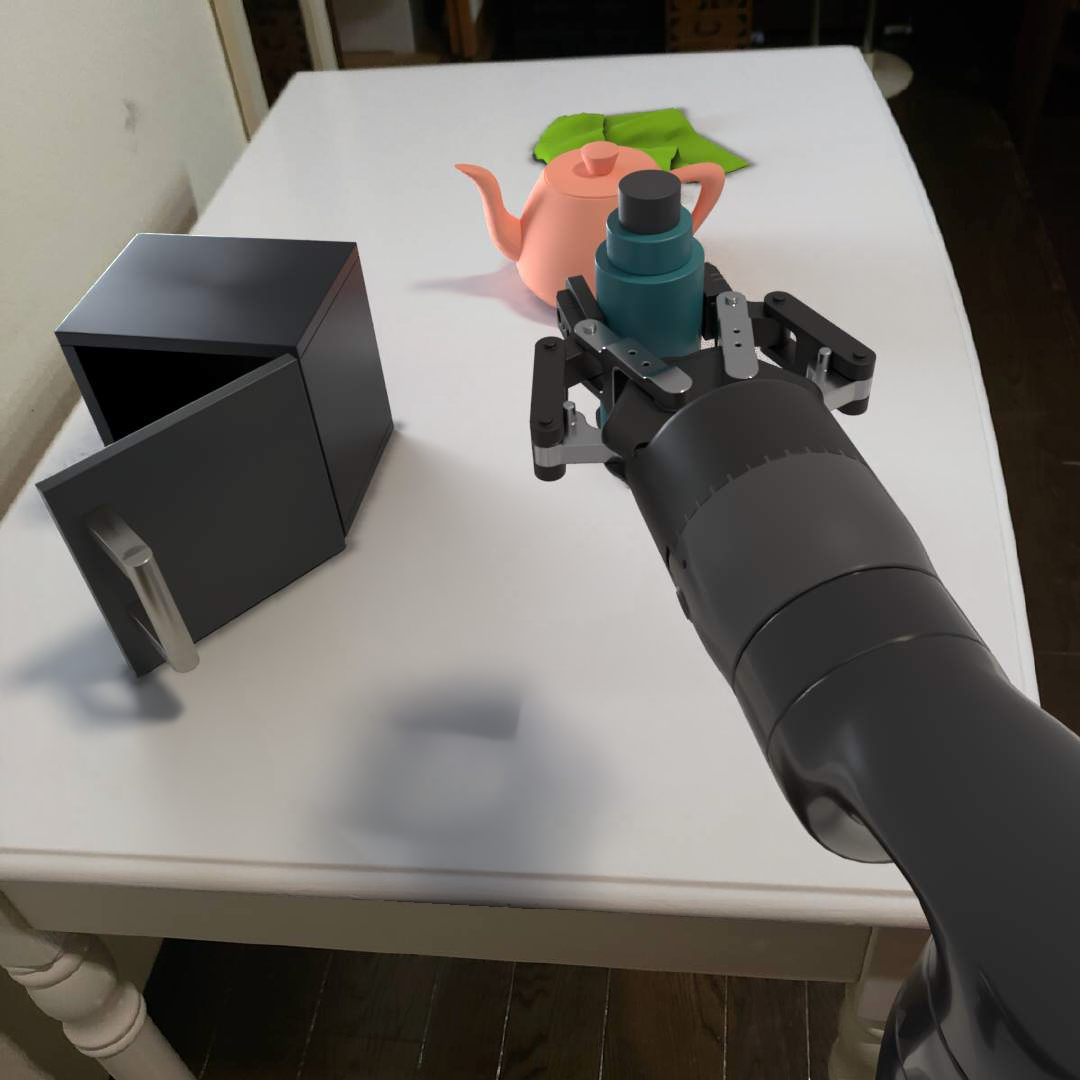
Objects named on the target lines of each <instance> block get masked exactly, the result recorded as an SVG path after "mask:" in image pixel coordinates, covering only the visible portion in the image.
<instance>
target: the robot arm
mask: <svg viewBox="0 0 1080 1080" xmlns="http://www.w3.org/2000/svg"><path fill="white" fill-rule="evenodd" d="M565 286H566V289H565V290H560V291H557V296H556V306H557V308H556V319H557V327H558V329H559V332H560V334H561V335H562V338H561V337H559V336H554V335H553V336H551V335H549V336H544V337H541V338H539V339H538V340H537V341H536V342H535V344H534V352H533V353H534V355H533V367H532V381H531V382H532V383H531V397H530V409H529V431H530V443H531V455H532V463H533V473H534V476H535V477H536V478H537V479H538V480H540V481H542V482H548V483H552V482H556V481H558V480H561V479H562V478H563V477H564V476H565V475H566V473H567V465H578V464H579V465H580V464H581V465H582V464H583V465H584V464H587V465H588V464H603V465H604V467H605V468H606V470H607V471H608V472H609V473H610V474H611V475H612V476H614V477H616V478H617V479H618V480H620V481H622V482H623V483H624V484H626V486H627V487H628V488H629V489H630V491H631V493H632V496H633V498H634V501H635V503H636V506H637V508H638V510H639V512H640V514H641V516H642V518H643V521H644V523H645V525H646V527H647V529H648V531H649V534H650V535H651V538H652V540H653V542H654V544H655V546H656V548H657V550H658V552H659V555H660V558H661V559H662V561H663V563H664V566H665V568H666V570H667V572H668V574H669V576H670V578H671V581H672V583H673V585H674V588H675V589H676V591H675V594H676V597H677V600H678V603H679V605H680V608H681V610H682V613H683V614H684V617H685V618H686V620H687V621H689V622H690V623H691V624H692V625H693V628H694V630H695V632H696V634H697V636H698V638H699V639H700V641H701V644H702V645H703V648H704V650H705V651H706V653H707V655H708V656H709V658H710V659H711V661H712V663H713V664H714V666H715V667H716V668H717V669H718V672H719V673H720V674H721V675H722V677H723V678H724V679H725V681H726V682H727V684H728V685H729V687H730V689H731V690H732V692H733V694H734V696H735V698H736V699H737V702H738V704H739V707H740V709H741V711H742V713H743V715H744V717H745V719H746V721H747V724H748V726H749V728H750V730H751V732H752V734H753V736H754V738H755V740H756V742H757V744H758V747H759V749H760V751H761V753H762V755H763V758H764V759H765V761H766V764H767V766H768V768H769V769H770V772H771V774H772V776H773V778H774V780H775V782H776V784H777V786H778V788H779V790H780V792H781V793H782V795H783V797H784V799H785V800H786V802H787V804H788V806H789V807H790V808H791V810H792V812H793V813H794V815H795V817H796V818H797V821H798V822H799V823H800V825H801V826H802V827H803V829H804V830H805V831H806V833H807V834H808V836H810V837H811V838H812V839H813V840H814V841H815V842H817V843H818V844H819V846H820V847H822V848H823V849H824V850H826V851H828V852H830V853H831V854H833V855H835V856H838V857H840V858H842V859H845V860H848V861H852V862H856V863H860V864H871V865H888V864H894V866H896V869H898V871H899V872H900V873H901V875H902V876H903V878H904V879H905V880H906V882H907V884H908V885H909V887H910V888H911V890H912V891H913V894H914V895H915V897H916V898H917V900H918V903H919V905H920V907H921V910H922V912H923V915H924V917H925V919H926V922H927V925H928V927H929V930H930V933H931V934H930V936H929V938H928V939H927V941H926V943H925V944H924V947H923V948H922V950H921V952H920V953H919V955H918V957H917V959H916V960H915V962H914V964H913V966H912V967H911V968H910V970H909V971H908V974H907V975H906V977H905V979H904V981H903V982H902V984H901V985H900V988H899V989H898V991H897V993H896V995H895V998H894V1000H893V1002H892V1004H891V1006H890V1009H889V1013H888V1016H887V1018H886V1022H885V1026H884V1030H883V1033H882V1036H881V1042H880V1046H879V1050H878V1051H879V1052H878V1058H877V1063H876V1070H875V1077H874V1080H1080V736H1079V735H1078V734H1076V733H1075V732H1074V731H1073V730H1071V729H1070V728H1069V727H1067V726H1066V725H1065V724H1063V723H1062V722H1061V721H1060V720H1058V719H1057V718H1056V717H1055V716H1053V715H1051V714H1050V713H1049V712H1047V711H1046V710H1044V709H1043V708H1042V707H1041V706H1040V705H1038V704H1037V703H1036V702H1034V701H1033V700H1032V699H1030V698H1029V697H1028V696H1027V695H1025V694H1024V693H1023V692H1022V691H1021V690H1020V689H1018V688H1017V686H1015V685H1014V684H1013V683H1012V682H1011V680H1010V679H1009V676H1008V675H1007V673H1006V672H1005V670H1004V669H1003V668H1002V666H1001V664H1000V662H999V661H998V659H997V657H996V656H995V655H994V654H993V652H992V651H991V649H990V647H989V646H988V645H987V644H986V641H984V639H983V637H982V636H981V635H980V634H979V632H978V631H977V629H976V628H975V627H974V626H973V624H972V622H971V621H970V619H969V618H968V617H967V615H966V614H965V612H964V611H963V609H962V608H961V607H960V605H959V604H958V603H957V601H956V599H955V598H954V596H953V595H952V594H951V592H950V591H949V590H948V589H947V587H946V586H945V585H944V583H943V582H942V580H941V579H940V577H939V574H938V573H937V571H936V569H935V567H934V565H933V562H932V561H931V558H930V556H929V554H928V551H927V550H926V547H925V546H924V544H923V542H922V540H921V538H920V537H919V534H918V533H917V531H916V530H915V529H914V527H913V526H912V524H911V522H910V521H909V519H908V518H907V516H906V515H905V514H904V512H903V511H902V510H901V508H900V507H899V505H898V503H897V502H896V501H895V500H894V498H893V497H892V496H891V494H890V493H889V491H888V489H886V487H885V486H884V484H883V483H882V481H881V480H880V479H879V477H878V476H877V475H876V473H875V471H874V470H873V469H872V467H871V466H870V465H869V463H868V462H867V461H866V460H865V458H864V456H863V455H862V454H861V452H860V451H859V450H858V448H857V446H856V445H855V444H854V442H853V441H852V439H851V438H850V437H849V435H848V434H847V433H846V431H845V430H844V429H843V427H842V426H841V424H840V423H839V421H837V419H836V417H835V416H834V414H833V413H832V412H833V411H834V410H837V411H838V412H840V413H841V414H843V415H845V416H851V417H852V416H860V415H863V414H865V413H866V412H867V411H868V407H869V402H870V396H871V392H872V391H871V390H872V385H873V380H874V379H873V378H874V372H875V367H876V362H877V354H876V352H875V351H874V350H873V349H871V348H870V347H868V346H867V345H865V344H864V343H863V342H861V341H860V340H858V339H857V338H855V337H854V336H852V335H851V334H849V333H848V332H847V331H845V330H843V329H842V327H841V328H840V327H839V326H838V325H836V324H835V323H833V322H832V321H830V320H829V319H827V318H826V317H825V316H823V315H822V314H821V313H819V312H817V311H816V310H815V309H813V308H812V307H810V306H808V305H807V304H805V303H804V302H803V301H802V300H800V299H799V298H797V297H795V296H794V295H793V294H791V293H789V292H788V291H783V290H775V291H774V290H773V291H770V292H768V293H766V294H765V295H764V297H763V301H750V300H747V297H746V295H745V294H744V293H742V292H739V291H736V290H735V291H734V290H733V289H732V287H731V286H730V284H729V283H728V281H727V280H726V279H725V277H724V275H723V274H722V273H721V271H720V270H719V268H718V267H717V266H716V265H714V264H712V263H711V262H709V261H705V263H704V288H703V313H702V337H701V338H703V340H704V341H707V342H708V341H711V340H713V346H711V347H706V348H701V350H699V351H696V352H694V353H691V354H689V355H686V356H680V357H662V358H658V357H657V356H656V355H655V354H653V353H652V352H651V351H650V350H648V349H647V348H646V347H645V346H643V345H642V344H641V343H640V342H638V341H637V340H636V339H635V338H633V337H631V336H630V337H627V338H625V339H621V338H620V337H619V336H618V335H617V334H615V333H614V332H613V331H612V330H610V329H609V328H608V327H607V326H605V316H604V314H603V312H602V311H601V309H600V307H599V305H598V303H597V301H596V299H595V297H594V296H593V294H592V292H591V290H590V288H589V286H588V284H587V283H586V281H585V279H584V277H583V275H578V276H573V277H568V278H566V279H565ZM791 334H793V335H794V337H795V339H794V338H792V337H791V336H792V335H791ZM756 348H759V351H760V353H762V355H764V356H766V358H768V359H769V360H771V361H772V362H773V363H774V364H773V363H770V362H768V361H765V360H763V359H760V358H758V354H757V353H756ZM775 364H776V365H775ZM777 365H778V366H777ZM579 384H581V385H582V386H583V387H585V388H586V389H587V391H589V392H590V393H591V394H592V395H593V396H594V397H596V398H597V399H598V400H599V402H600V401H601V402H602V404H603V407H604V410H605V412H606V414H607V416H608V418H607V420H606V422H605V423H604V425H603V428H602V429H600V428H598V427H595V426H592V425H590V424H589V422H587V419H586V416H585V414H584V413H582V412H581V411H578V410H577V409H576V402H574V401H572V400H569V389H571V388H572V387H575V386H577V385H579Z"/></svg>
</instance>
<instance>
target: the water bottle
mask: <svg viewBox="0 0 1080 1080" xmlns="http://www.w3.org/2000/svg"><path fill="white" fill-rule="evenodd" d="M681 204H682V184H681V181H680V179H679V178H678V177H677V176H676V175H674V174H672V173H670V172H667V171H663V170H653V169H650V170H640V171H636V172H632V173H630V174H628V175H626V176H624V177H623V178H622V179H621V180H620V182H619V184H618V206H619V207H617V208H616V209H614V210H613V211H612V212H611V213H610V214H609V216H608V218H607V220H606V238H607V239H605V240H604V241H603V242H602V243H601V244H600V245H599V246H598V248H597V250H596V252H595V281H596V301H597V303H598V305H599V307H600V309H601V311H602V312H603V314H604V316H605V326H607V327H608V328H609V329H610V330H612V331H613V332H614V333H615V334H617V335H618V336H619V337H620V338H621V339H625V338H627V337H630V336H631V337H633V338H635V339H636V340H637V341H638V342H640V343H641V344H642V345H643V346H645V347H646V348H647V349H648V350H650V351H651V352H652V353H653V354H655V355H656V356H657V357H658V358H662V357H680V356H686V355H689V354H691V353H694V352H696V351H699V350H701V349H702V338H703V337H702V313H703V288H704V263H705V262H706V260H705V259H706V255H705V253H706V252H705V248H704V246H703V244H702V243H701V242H700V241H699V239H697V238H696V237H694V235H693V217H692V215H691V214H692V212H690V210H689V209H687V208H686V207H685V206H683V204H682V205H681ZM599 407H600V413H601V429H602V428H603V425H604V423H605V422H606V420H607V418H608V416H607V414H606V412H605V410H604V407H603V404H602V402H601V401H600V400H599Z"/></svg>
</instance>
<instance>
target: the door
mask: <svg viewBox="0 0 1080 1080" xmlns="http://www.w3.org/2000/svg"><path fill="white" fill-rule="evenodd" d="M34 486H35V489H36V491H37V492H38V494H39V496H40V498H41V500H42V501H43V502H42V503H44V505H45V507H46V509H47V511H48V513H49V515H50V517H51V519H52V521H53V522H54V525H55V527H56V529H57V531H58V532H59V535H60V536H61V538H62V540H63V542H64V544H65V546H66V548H67V550H68V551H69V554H70V555H71V557H72V559H73V561H74V563H75V565H76V567H77V569H78V572H79V573H80V576H82V577H81V578H82V579H83V580H84V583H85V585H86V586H87V589H88V590H89V592H90V594H91V596H92V598H93V600H94V602H95V604H96V606H97V608H98V609H99V611H100V613H101V615H102V617H103V619H104V621H105V623H106V625H107V627H108V629H109V631H110V632H111V635H112V637H113V638H114V640H115V642H116V644H117V646H118V648H119V650H120V652H121V654H122V655H123V658H124V660H125V661H126V663H127V665H128V668H129V669H130V671H131V672H132V673H133V674H134V675H135V677H136V678H140V677H141V676H143V675H144V674H146V673H148V672H149V671H151V670H153V669H154V668H156V667H157V666H159V665H160V664H162V663H164V662H166V663H167V664H168V665H169V667H171V668H172V669H173V671H174V672H176V673H178V674H187V673H190V672H193V671H195V670H196V669H197V668H198V666H199V664H200V662H201V656H200V654H199V652H198V650H197V648H196V645H195V643H196V642H197V641H199V640H200V639H202V638H204V637H205V636H207V635H208V634H210V633H211V632H213V631H214V630H216V629H218V628H220V627H221V626H223V625H225V624H226V623H227V622H229V621H231V620H232V619H234V618H235V617H237V616H239V615H241V614H242V613H243V612H245V611H247V610H248V609H250V608H251V607H253V606H254V605H257V604H258V603H259V602H261V601H263V600H264V599H266V598H267V597H269V596H271V595H272V594H273V593H275V592H277V591H278V590H280V589H282V588H283V587H285V586H286V585H288V584H290V583H291V582H293V581H294V580H296V579H297V578H299V577H301V576H302V575H304V574H305V573H307V572H309V571H311V570H312V569H314V568H316V567H317V566H319V565H320V564H322V563H323V562H325V561H326V560H328V559H330V558H331V557H333V556H334V555H336V554H338V553H340V552H341V551H342V550H344V549H346V548H347V546H348V545H347V543H346V539H345V536H344V535H343V531H342V527H341V523H340V520H339V516H338V512H337V509H336V505H335V501H334V497H333V494H332V490H331V486H330V482H329V479H328V475H327V471H326V467H325V464H324V460H323V456H322V453H321V449H320V445H319V441H318V438H317V434H316V430H315V426H314V423H313V419H312V415H311V411H310V408H309V404H308V400H307V396H306V393H305V389H304V385H303V382H302V378H301V374H300V370H299V367H298V363H297V360H296V359H295V358H294V357H293V356H291V355H290V354H288V353H287V354H285V355H283V356H281V357H279V358H277V359H275V360H273V361H271V362H269V363H267V364H266V365H264V366H262V367H260V368H258V369H256V370H254V371H252V372H250V373H248V374H246V375H244V376H242V377H240V378H239V379H237V380H235V381H233V382H231V383H229V384H227V385H225V386H223V387H221V388H219V389H217V390H215V391H213V392H212V393H210V394H208V395H206V396H204V397H202V398H200V399H198V400H196V401H194V402H192V403H190V404H188V405H186V406H184V407H183V408H181V409H179V410H177V411H175V412H173V413H171V414H169V415H167V416H165V417H163V418H161V419H159V420H157V421H156V422H154V423H152V424H150V425H148V426H146V427H144V428H142V429H140V430H138V431H136V432H134V433H132V434H130V435H129V436H127V437H125V438H123V439H121V440H119V441H117V442H115V443H113V444H111V445H109V446H107V447H105V446H104V447H103V448H101V449H99V450H97V451H96V452H93V453H91V454H90V455H88V456H85V457H84V458H82V459H80V460H77V462H74V463H72V464H70V465H69V466H67V467H64V468H63V469H61V470H59V471H57V472H55V473H53V474H51V475H50V476H47V477H46V478H44V479H42V480H40V481H38V482H36V483H34Z"/></svg>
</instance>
